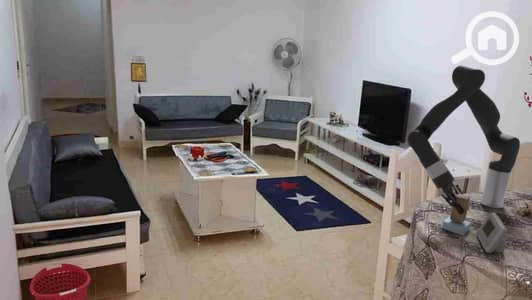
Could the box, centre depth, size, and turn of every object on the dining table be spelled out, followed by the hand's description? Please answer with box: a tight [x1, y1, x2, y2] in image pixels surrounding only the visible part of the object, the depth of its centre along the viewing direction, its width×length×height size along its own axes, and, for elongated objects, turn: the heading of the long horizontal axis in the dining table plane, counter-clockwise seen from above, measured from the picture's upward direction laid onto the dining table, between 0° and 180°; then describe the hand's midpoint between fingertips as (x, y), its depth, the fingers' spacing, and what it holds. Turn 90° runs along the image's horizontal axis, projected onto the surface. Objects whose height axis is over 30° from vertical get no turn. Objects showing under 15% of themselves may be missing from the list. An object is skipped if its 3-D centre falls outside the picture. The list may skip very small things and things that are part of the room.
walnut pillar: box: [449, 193, 471, 223], centre depth 169 cm, size 4×4×10 cm
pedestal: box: [441, 216, 472, 236], centre depth 171 cm, size 8×8×3 cm
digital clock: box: [476, 212, 508, 254], centre depth 158 cm, size 16×9×11 cm, turn 155°
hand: (464, 211), depth 168 cm, fingers closed on walnut pillar, 4 cm apart
